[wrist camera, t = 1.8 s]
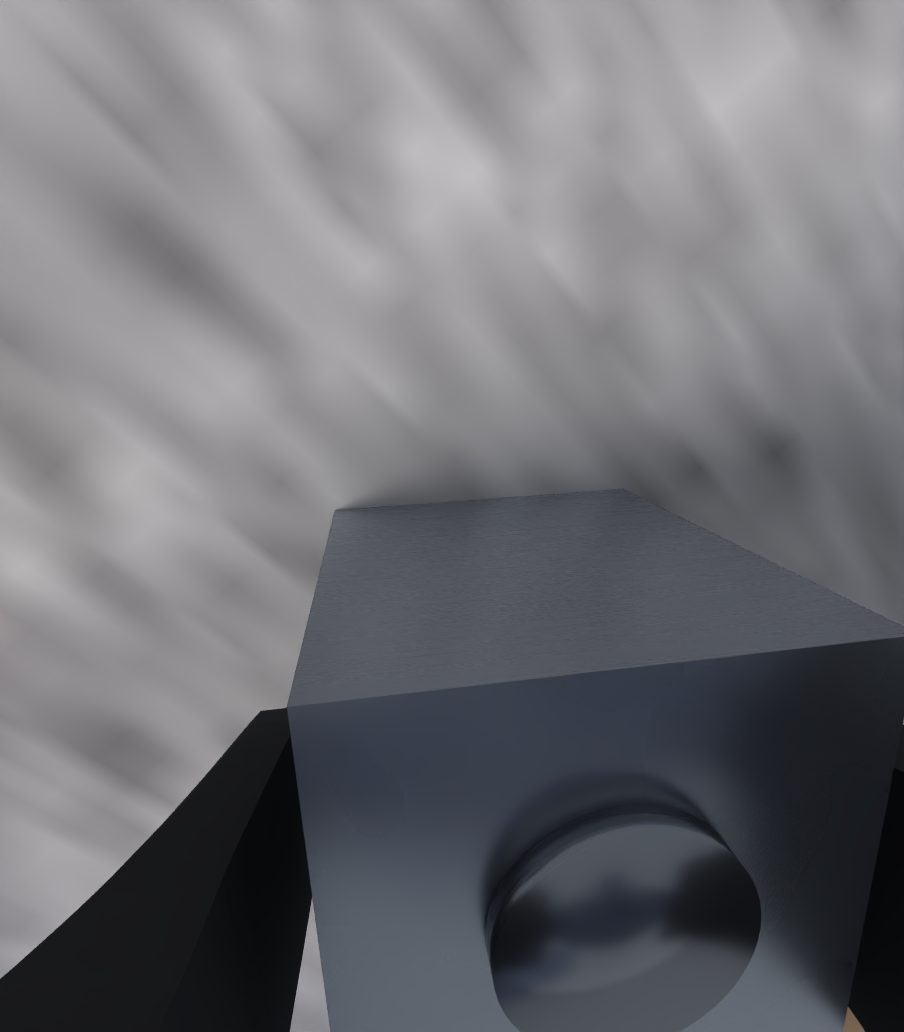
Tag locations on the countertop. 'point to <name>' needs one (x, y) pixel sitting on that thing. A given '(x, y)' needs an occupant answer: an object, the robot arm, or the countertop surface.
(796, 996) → the block
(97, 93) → the countertop surface
